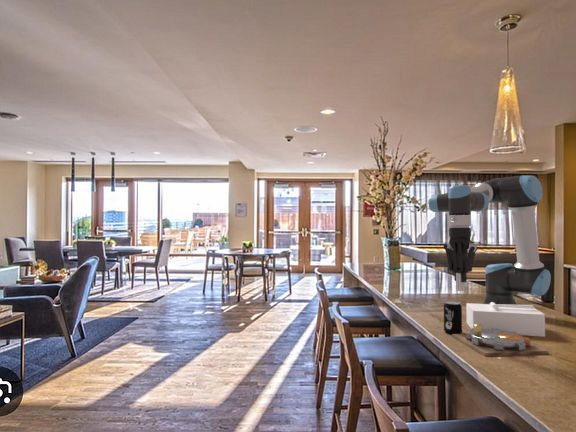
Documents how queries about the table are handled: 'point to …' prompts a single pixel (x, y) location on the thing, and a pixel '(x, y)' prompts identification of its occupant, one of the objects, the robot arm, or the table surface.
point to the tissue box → (507, 318)
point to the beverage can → (452, 317)
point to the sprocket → (497, 338)
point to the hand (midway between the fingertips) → (460, 290)
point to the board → (494, 352)
